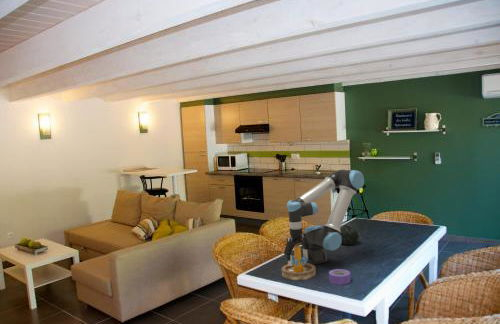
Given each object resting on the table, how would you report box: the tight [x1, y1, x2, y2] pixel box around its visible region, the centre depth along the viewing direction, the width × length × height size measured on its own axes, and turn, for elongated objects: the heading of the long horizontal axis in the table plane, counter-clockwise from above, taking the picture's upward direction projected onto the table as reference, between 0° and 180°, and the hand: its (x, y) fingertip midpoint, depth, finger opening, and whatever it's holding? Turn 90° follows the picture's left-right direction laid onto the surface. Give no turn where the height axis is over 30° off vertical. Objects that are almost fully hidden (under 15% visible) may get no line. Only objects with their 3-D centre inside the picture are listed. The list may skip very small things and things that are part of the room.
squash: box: [340, 224, 360, 246], centre depth 307 cm, size 14×15×15 cm
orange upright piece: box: [292, 245, 308, 273], centre depth 251 cm, size 12×10×15 cm
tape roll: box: [328, 268, 351, 286], centre depth 236 cm, size 12×12×5 cm
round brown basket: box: [281, 262, 317, 281], centre depth 251 cm, size 20×20×4 cm
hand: (298, 262), depth 251 cm, fingers open, 13 cm apart
